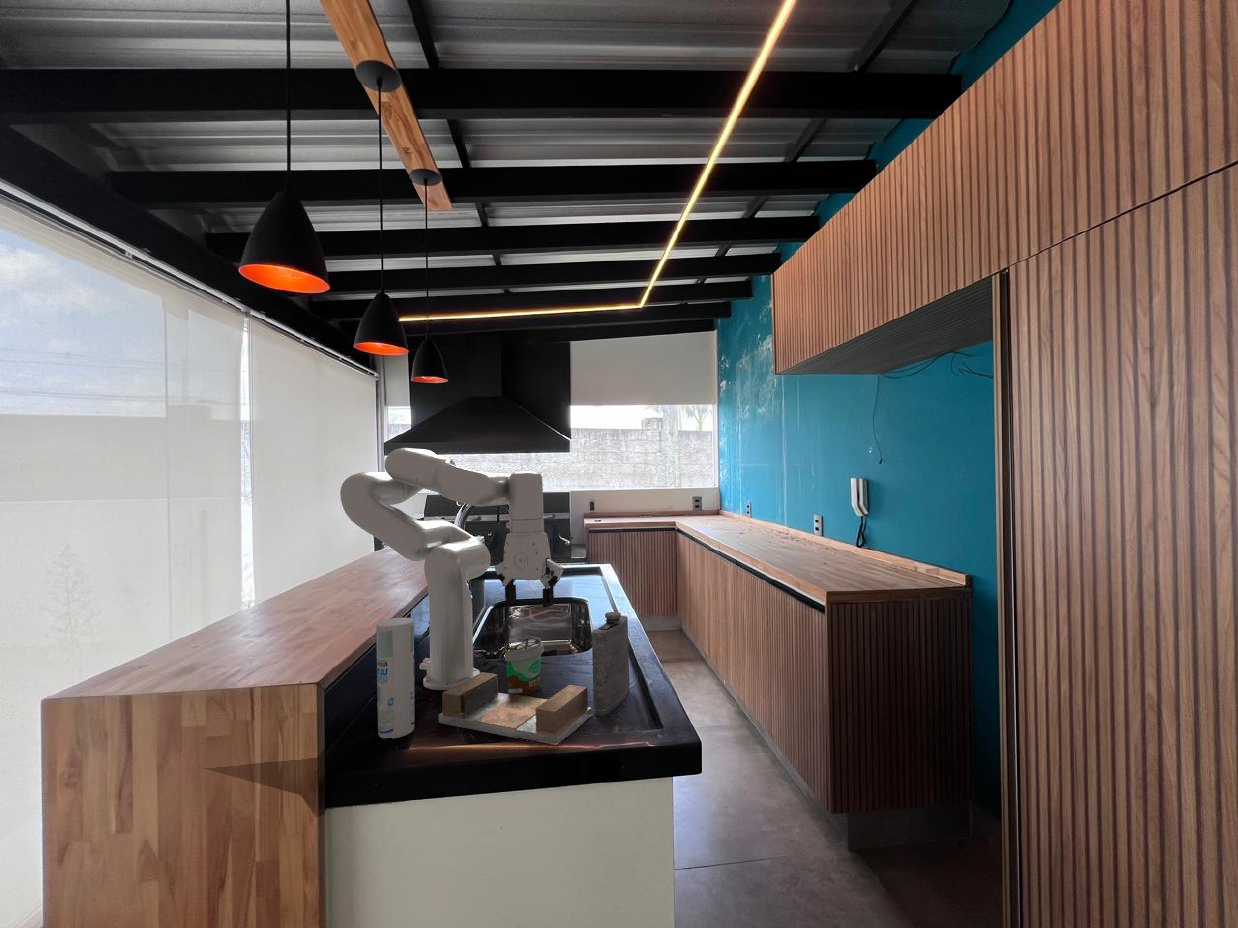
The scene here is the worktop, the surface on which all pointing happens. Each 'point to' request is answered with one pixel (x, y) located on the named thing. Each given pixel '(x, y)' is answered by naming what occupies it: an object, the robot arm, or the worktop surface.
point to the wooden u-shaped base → (514, 710)
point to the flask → (610, 663)
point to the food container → (524, 666)
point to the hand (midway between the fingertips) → (529, 604)
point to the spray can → (395, 677)
